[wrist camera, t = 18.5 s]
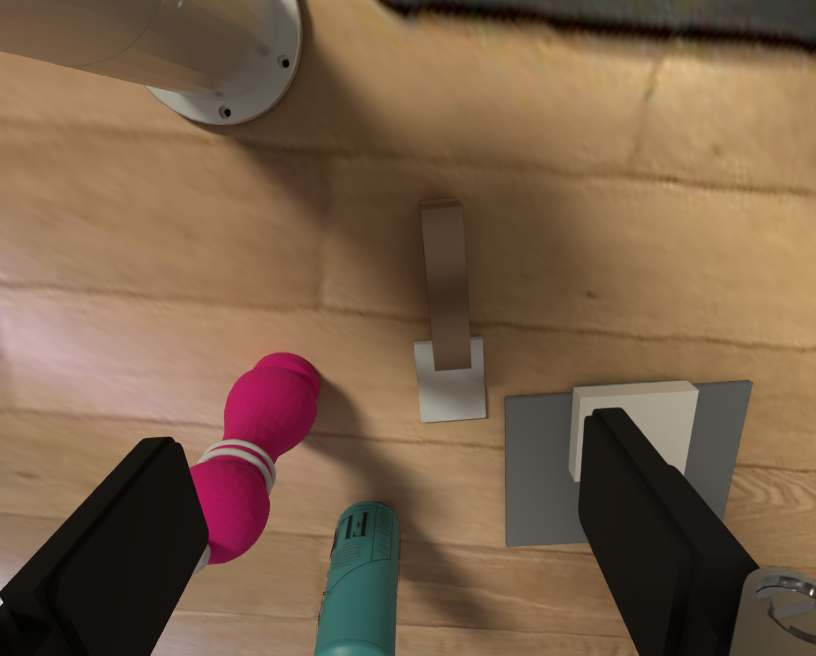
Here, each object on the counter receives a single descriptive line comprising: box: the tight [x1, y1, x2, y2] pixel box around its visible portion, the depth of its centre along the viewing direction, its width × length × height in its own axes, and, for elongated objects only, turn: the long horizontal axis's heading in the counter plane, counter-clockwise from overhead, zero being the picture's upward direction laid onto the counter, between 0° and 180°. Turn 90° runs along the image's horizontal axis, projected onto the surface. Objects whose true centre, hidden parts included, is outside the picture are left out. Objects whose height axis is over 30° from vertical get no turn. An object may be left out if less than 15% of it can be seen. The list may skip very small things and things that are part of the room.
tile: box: [568, 380, 699, 482], centre depth 42 cm, size 2×10×9 cm
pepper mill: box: [189, 353, 320, 575], centre depth 32 cm, size 7×7×20 cm
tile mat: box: [505, 380, 753, 547], centre depth 45 cm, size 18×22×1 cm
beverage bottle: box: [314, 502, 401, 656], centre depth 38 cm, size 6×7×20 cm
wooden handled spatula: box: [414, 197, 486, 423], centre depth 37 cm, size 20×6×6 cm, turn 6°
